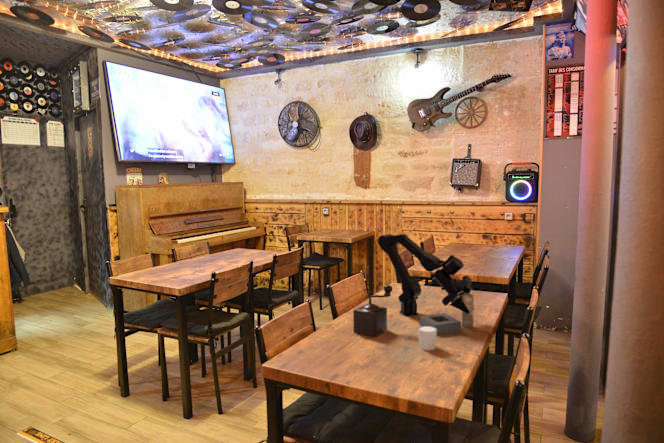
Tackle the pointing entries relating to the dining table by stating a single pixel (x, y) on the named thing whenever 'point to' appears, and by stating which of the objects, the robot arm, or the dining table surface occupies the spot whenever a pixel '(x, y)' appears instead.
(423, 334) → the shot glass
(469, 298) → the peg
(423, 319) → the socket
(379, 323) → the pepper mill
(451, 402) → the dining table surface
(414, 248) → the robot arm
